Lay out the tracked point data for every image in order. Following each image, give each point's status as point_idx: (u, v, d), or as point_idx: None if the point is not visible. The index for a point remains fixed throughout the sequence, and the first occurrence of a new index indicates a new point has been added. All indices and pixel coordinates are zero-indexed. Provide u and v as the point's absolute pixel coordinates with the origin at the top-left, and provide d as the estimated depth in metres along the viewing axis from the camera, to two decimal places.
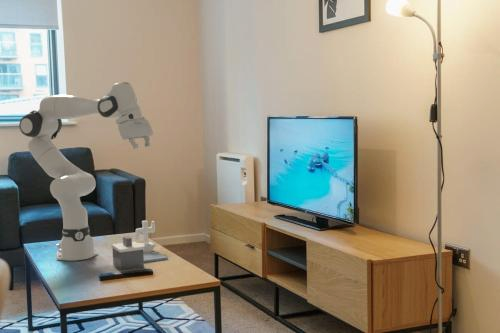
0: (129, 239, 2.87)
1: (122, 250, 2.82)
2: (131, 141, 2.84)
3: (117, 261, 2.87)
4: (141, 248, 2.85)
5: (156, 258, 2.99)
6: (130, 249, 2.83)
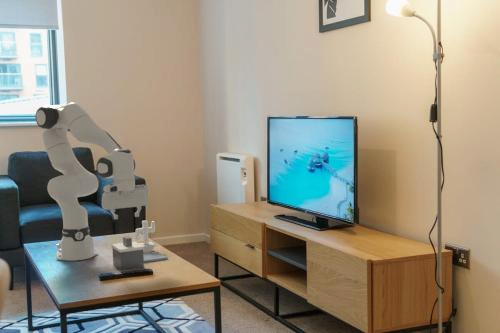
0: (129, 239, 2.87)
1: (122, 250, 2.82)
2: (111, 212, 2.84)
3: (117, 261, 2.87)
4: (141, 248, 2.85)
5: (156, 258, 2.99)
6: (130, 249, 2.83)
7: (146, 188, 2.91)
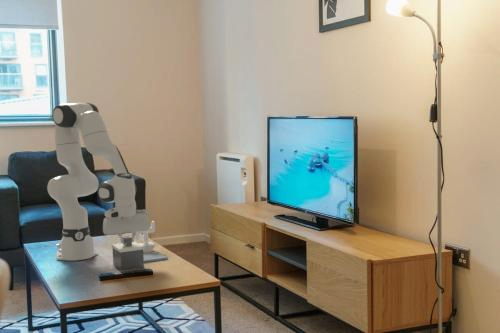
0: (129, 239, 2.87)
1: (122, 250, 2.82)
2: None
3: (117, 261, 2.87)
4: (141, 248, 2.85)
5: (156, 258, 2.99)
6: (130, 249, 2.83)
7: (147, 213, 2.92)
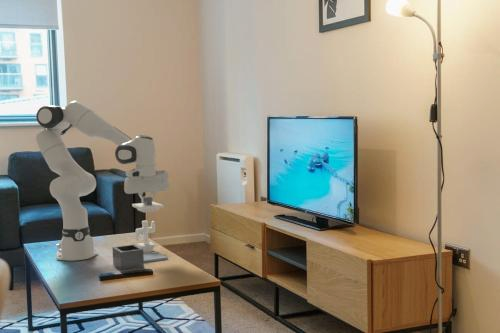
0: (149, 198, 2.99)
1: (143, 208, 2.94)
2: (139, 195, 2.99)
3: (117, 261, 2.87)
4: (161, 206, 2.98)
5: (156, 258, 2.99)
6: (150, 207, 2.95)
7: (166, 174, 3.04)
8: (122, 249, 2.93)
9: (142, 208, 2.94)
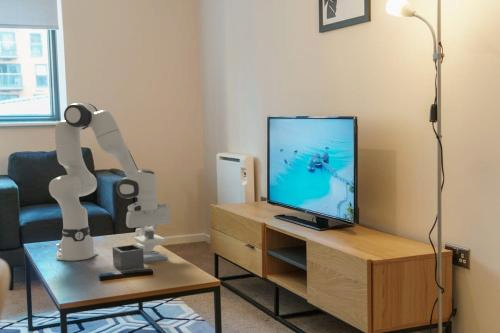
0: (151, 232, 3.00)
1: (145, 242, 2.95)
2: (141, 229, 3.01)
3: (117, 261, 2.87)
4: (163, 240, 2.99)
5: (156, 258, 2.99)
6: (152, 241, 2.97)
7: (168, 207, 3.06)
8: (122, 249, 2.93)
9: (144, 242, 2.95)
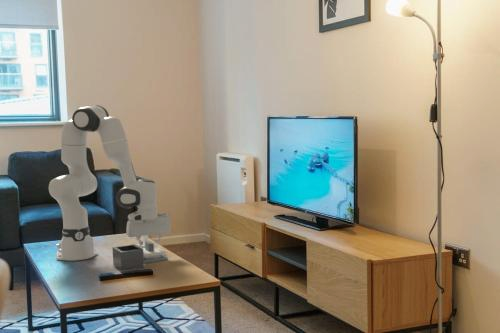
0: (151, 244, 3.01)
1: (145, 255, 2.96)
2: (137, 238, 3.00)
3: (117, 261, 2.87)
4: (163, 253, 3.00)
5: (156, 258, 2.99)
6: (152, 254, 2.98)
7: (168, 216, 3.06)
8: (122, 249, 2.93)
9: (144, 255, 2.96)
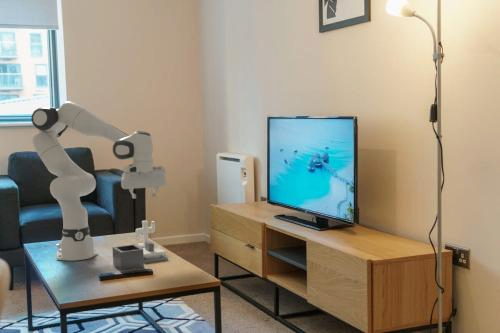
0: (151, 244, 3.01)
1: (145, 255, 2.96)
2: (130, 191, 2.99)
3: (117, 261, 2.87)
4: (163, 253, 3.00)
5: (156, 258, 2.99)
6: (152, 254, 2.98)
7: (163, 170, 3.05)
8: (122, 249, 2.93)
9: (144, 255, 2.96)
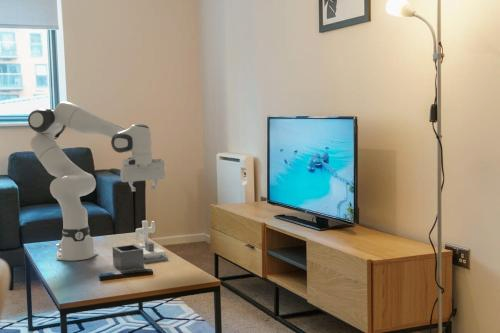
0: (151, 244, 3.01)
1: (145, 255, 2.96)
2: (129, 184, 2.99)
3: (117, 261, 2.87)
4: (163, 253, 3.00)
5: (156, 258, 2.99)
6: (152, 254, 2.98)
7: (162, 162, 3.05)
8: (122, 249, 2.93)
9: (144, 255, 2.96)
